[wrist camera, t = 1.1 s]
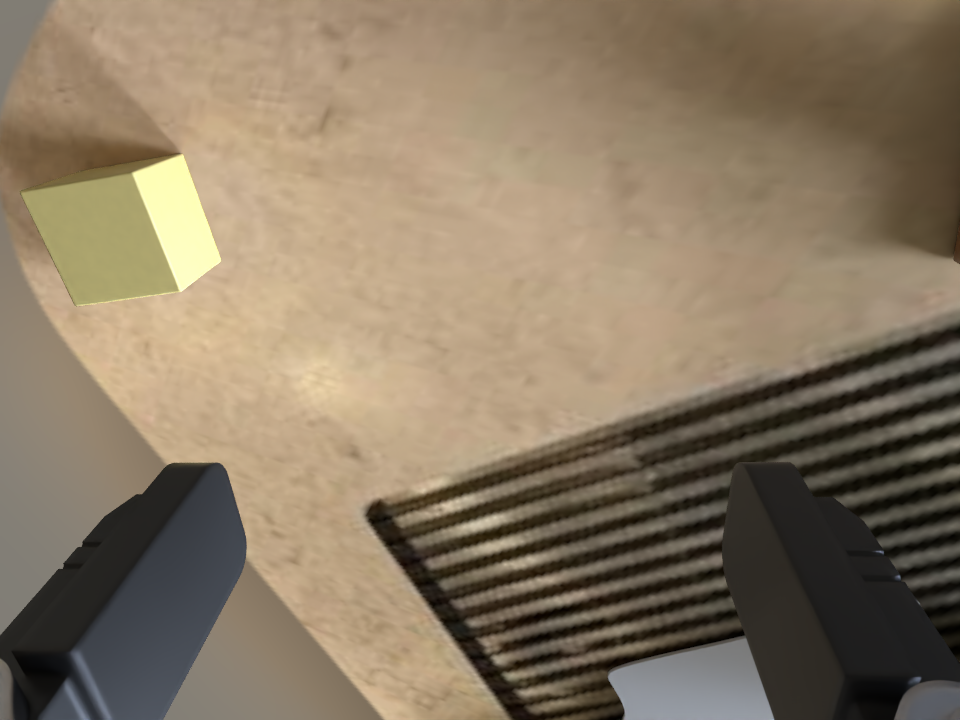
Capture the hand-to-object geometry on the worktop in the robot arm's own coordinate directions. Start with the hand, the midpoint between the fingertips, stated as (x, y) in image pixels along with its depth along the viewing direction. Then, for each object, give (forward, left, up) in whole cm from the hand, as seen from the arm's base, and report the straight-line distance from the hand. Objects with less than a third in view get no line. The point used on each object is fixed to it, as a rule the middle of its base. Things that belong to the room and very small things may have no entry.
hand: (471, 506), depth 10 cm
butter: (+10, -13, -20) cm, 26 cm away
